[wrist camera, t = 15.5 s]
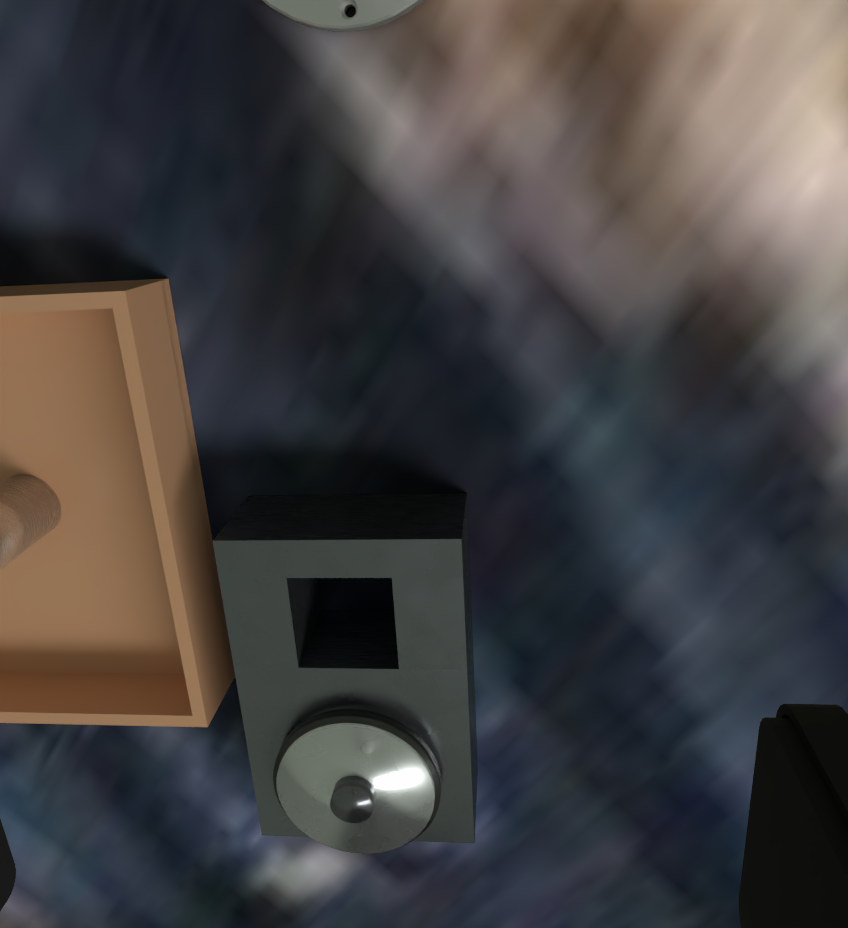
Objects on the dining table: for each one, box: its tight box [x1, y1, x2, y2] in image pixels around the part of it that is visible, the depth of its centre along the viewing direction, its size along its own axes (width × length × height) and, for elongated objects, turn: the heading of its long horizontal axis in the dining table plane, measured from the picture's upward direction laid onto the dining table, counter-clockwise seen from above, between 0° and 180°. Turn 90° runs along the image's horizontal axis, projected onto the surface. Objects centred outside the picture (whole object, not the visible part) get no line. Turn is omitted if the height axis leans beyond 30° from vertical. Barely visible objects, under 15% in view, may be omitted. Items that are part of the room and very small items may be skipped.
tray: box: [0, 279, 235, 727], centre depth 44 cm, size 26×22×5 cm
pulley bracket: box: [213, 493, 478, 853], centre depth 44 cm, size 20×13×8 cm, turn 3°
